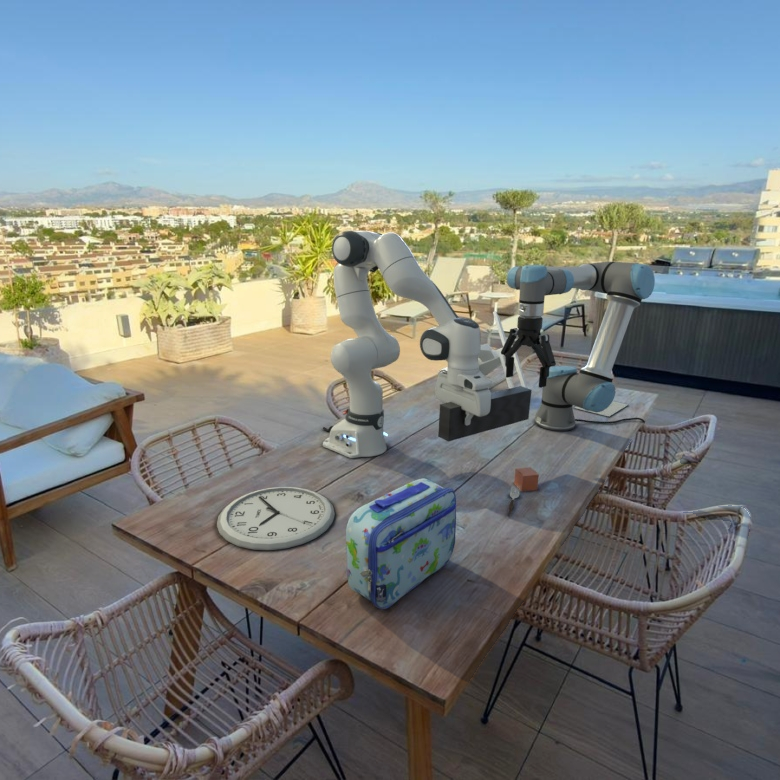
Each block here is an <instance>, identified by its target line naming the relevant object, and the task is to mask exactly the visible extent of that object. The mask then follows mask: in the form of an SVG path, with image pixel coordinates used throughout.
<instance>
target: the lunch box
mask: <svg viewBox="0 0 780 780" xmlns="http://www.w3.org/2000/svg"><path fill="white" fill-rule="evenodd" d="M456 498H457V496H456V493H455V491H454V489H452V488H450V487H443V486H441V485H439V484H438V483H436V482H433V481H432V480H430V479H427V478H423V477H422V478H418V479H416V480H413V481H411V482H409V483H406V484H405V485H402V486H400V487H398V488H396V489H394V490H392V491H390V492H388V493H386V494H383V495H382V496H379V497H378V498H376V499H374V500H372V501H370V502H368V503H366V504H363V505H362V506H360V507H358V508H356V509H355V510H354V511H353V513H351V515H350V517H349V519H348V521H347V524H346V530H345V547H346V549H345V550H346V572H347V573H346V575H347V584H348V587H349V589H350V590H351V591H353V592H355V593H357V594H358V595H361V596H363V597H364V598H365V599H367V600H368V601H369V602H371V604H372V605H373V606H374V607H376V608H377V609H380V610H386V609H389V608H391V607H393V605H395V603H397V602H398V601H399V600H400V599H402V598H403V597H404V596H405V595H408V593H410V592H411V591H412V590H413V589H415V588H416V587H417V586H419V585H420V584H421V583H423V581H424V580H425V579H427V578H428V577H430V576H431V575H433V574H435V573H437V572H438V571H439V570H441V569H442V568H443V567H444V566H446V564H447V563H448V562H449V560H450V559H451V556H452V555H453V552H454V548H455V544H456V531H457V530H456V529H457V499H456Z"/></svg>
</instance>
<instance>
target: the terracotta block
mask: <svg viewBox="0 0 780 780" xmlns="http://www.w3.org/2000/svg"><path fill="white" fill-rule="evenodd" d="M514 470H515V471H514V478H513V479H514V480H513V485H514V486H515V487H517V485H518V487H517V489H519V487H520V492H531V491H538V485H539V478H540V477H539V476H540V474H539V473H538V472H537V471H536V470H535V469H533V468H532V467H531V466H529V467H528V466H527V467H520V468H519V467H518V468H517V467H516V468H515V469H514Z"/></svg>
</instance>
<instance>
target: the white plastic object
mask: <svg viewBox="0 0 780 780" xmlns="http://www.w3.org/2000/svg"><path fill="white" fill-rule="evenodd" d="M492 315H493V319H494V321H495V324H496V325H495V326H496V328H497V332H498V335H499V338H500V342H501V345H502V347H500V348H498V349H496V350H495V349H493V348H492V347H491V346H490V344H489V343H488V342H487V343H483V344H481V347H480V354H479V357H478V363H479V371H481V373H482V374H484V375H485V376H486V377H487V375H489V374H490V373H492V372H494V371H495V370H496V369H497V368H499V367H500V366H502V370H503V373H504V376H505V380H506V383H507V386H508V389H510V388H515V385H514V381H513V378H512V377H508V378H507V377H506V366H505V360H506V357H505V356H504V355H502V354H501V351H502V349H503V347H504V345H505V343H506V341H507V337H506V334H505V331H504V328H503V325H502V321H501V318H500V315H499V314H498V312H497V311H496V310H495V311H492ZM513 345H514V344H513ZM513 345H512V346H513ZM511 357H514V367H515V369H516V372H517V376H518V380H519V382H520V386H522V387H525V388H528V387H529V386H528V384H527V381H526V378H525V375H524V371H523V369H522V368H523V367H522V366H521V362H520V359H519V355H518V352H517V351H516V352H515V353H514V355H513V356H511ZM442 369H444V370H446V371H447V369H448V366H446V367H444V368H442ZM442 369H440V370H439V371H438V373H439V372H440V371H441V370H442ZM528 389H529V388H528Z"/></svg>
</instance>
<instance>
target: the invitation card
mask: <svg viewBox="0 0 780 780" xmlns="http://www.w3.org/2000/svg"><path fill="white" fill-rule="evenodd" d="M628 406H629V404H627V403H623V402H618V401H614V400H613V401H612V403H611V404H610V405H609V407H608V408H606V409H605V410H603V411H601V412H592V411H587V410H585V409H583V408H580V407H577V406H574V407H573V409H575V410H581V411H584V412H587V413H593V414H596V415H600V416H604V417H608V418H609V417H611V416H613V415H614V414H616V413H617V412H619V411H621V410H623V409H624V408H626V407H628Z"/></svg>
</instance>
